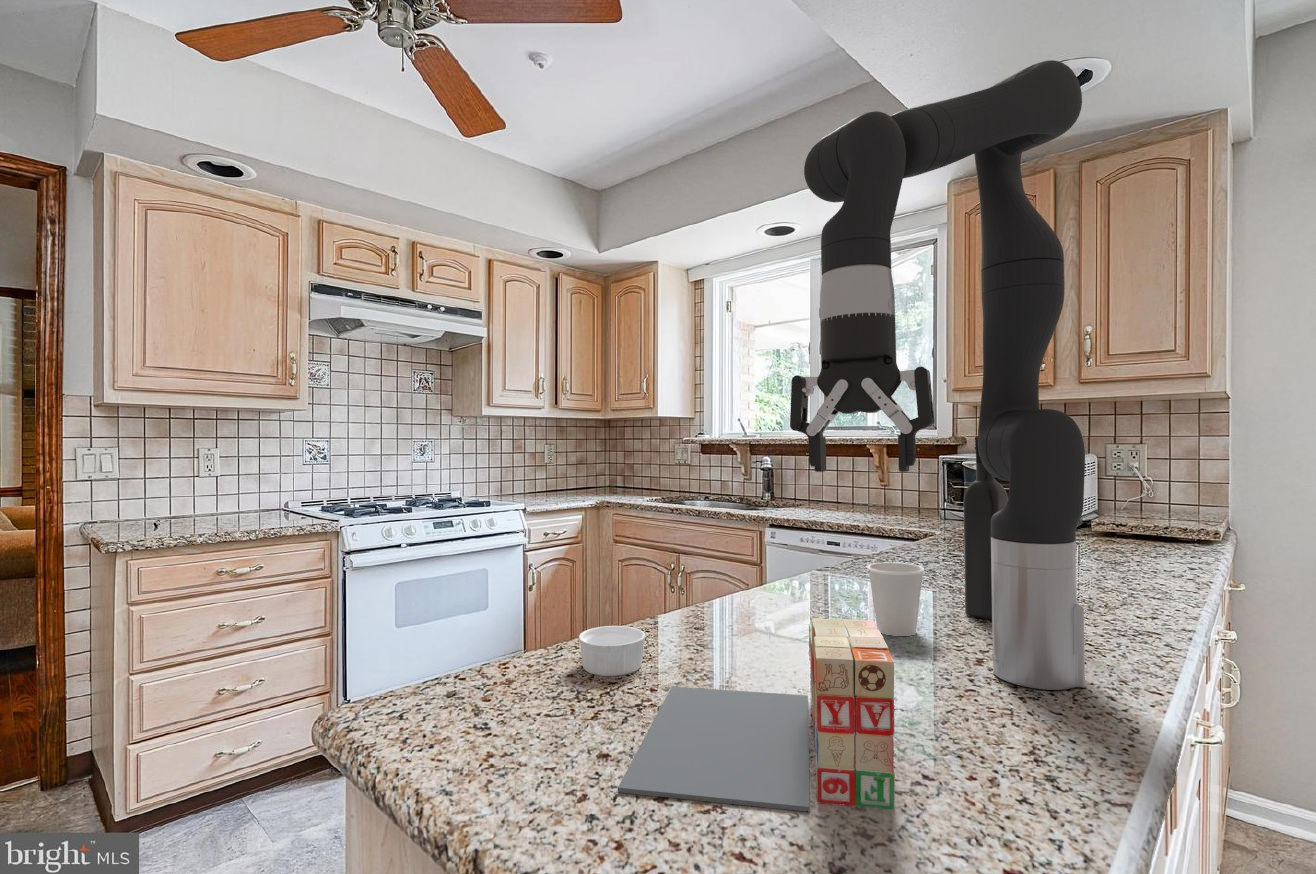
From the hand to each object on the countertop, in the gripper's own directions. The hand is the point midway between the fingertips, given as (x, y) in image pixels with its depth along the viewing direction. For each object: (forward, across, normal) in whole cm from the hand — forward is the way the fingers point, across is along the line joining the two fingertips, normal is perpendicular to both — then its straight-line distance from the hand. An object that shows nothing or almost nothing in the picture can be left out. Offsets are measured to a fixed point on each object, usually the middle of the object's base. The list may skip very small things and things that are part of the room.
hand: (860, 471), depth 70 cm
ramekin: (+27, +34, -4) cm, 43 cm away
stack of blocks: (+27, +1, +6) cm, 28 cm away
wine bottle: (+27, -9, -53) cm, 60 cm away
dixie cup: (+27, +3, -37) cm, 46 cm away
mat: (+26, +12, +9) cm, 30 cm away
